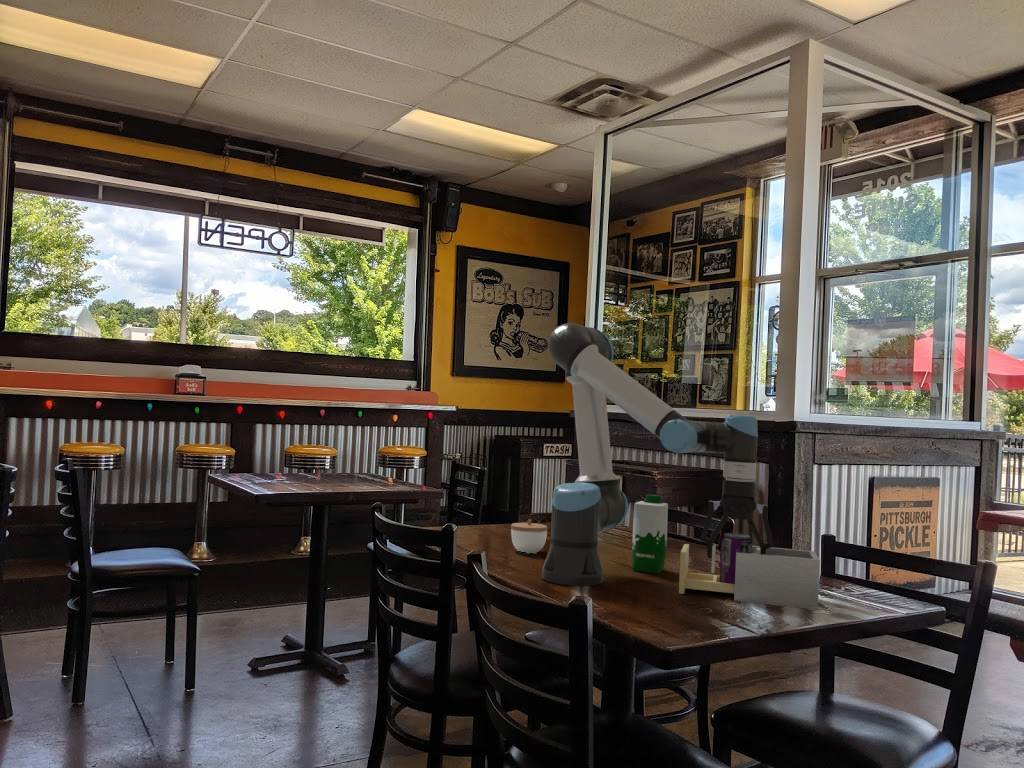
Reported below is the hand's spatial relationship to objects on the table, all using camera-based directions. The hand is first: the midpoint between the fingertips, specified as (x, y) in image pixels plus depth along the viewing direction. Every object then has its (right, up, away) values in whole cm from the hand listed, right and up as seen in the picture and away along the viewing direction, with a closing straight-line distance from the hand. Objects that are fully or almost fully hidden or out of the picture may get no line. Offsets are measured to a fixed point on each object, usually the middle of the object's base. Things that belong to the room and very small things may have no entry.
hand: (735, 574), depth 192 cm
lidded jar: (-48, -4, +45) cm, 66 cm away
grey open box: (+8, -5, -3) cm, 10 cm away
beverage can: (0, -3, 0) cm, 3 cm away
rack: (-4, -4, +1) cm, 6 cm away
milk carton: (-16, -5, +26) cm, 31 cm away
